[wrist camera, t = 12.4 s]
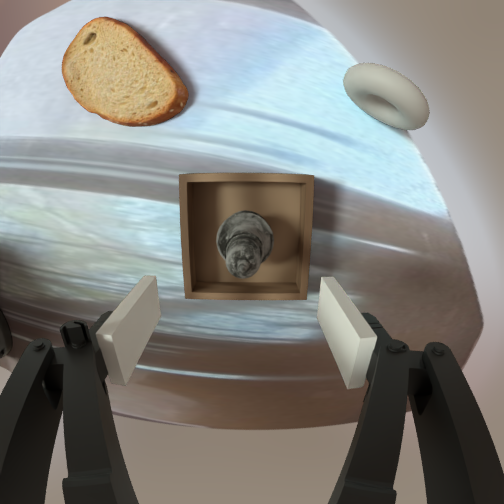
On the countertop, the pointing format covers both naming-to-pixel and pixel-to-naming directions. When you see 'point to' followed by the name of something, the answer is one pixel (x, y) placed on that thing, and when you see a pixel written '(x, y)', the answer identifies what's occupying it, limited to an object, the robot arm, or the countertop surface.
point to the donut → (386, 95)
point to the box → (273, 212)
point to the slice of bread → (121, 75)
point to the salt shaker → (244, 243)
